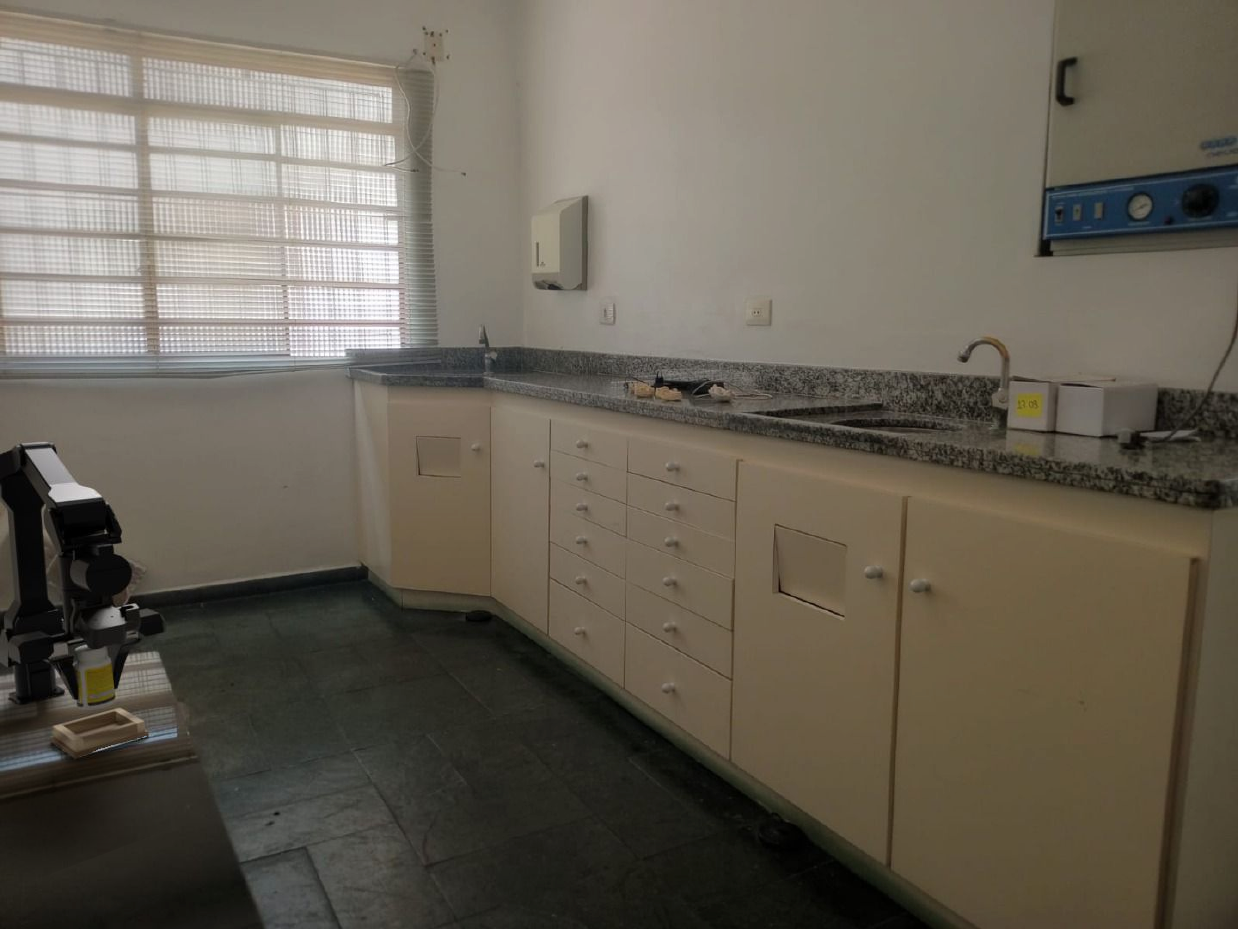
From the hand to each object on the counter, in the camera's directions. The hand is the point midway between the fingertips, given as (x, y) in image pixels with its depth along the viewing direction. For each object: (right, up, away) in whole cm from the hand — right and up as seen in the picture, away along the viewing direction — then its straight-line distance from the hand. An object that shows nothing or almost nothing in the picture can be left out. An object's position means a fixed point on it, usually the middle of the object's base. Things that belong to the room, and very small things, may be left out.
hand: (95, 694), depth 134 cm
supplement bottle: (0, -2, 0) cm, 2 cm away
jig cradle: (0, -7, +1) cm, 7 cm away
